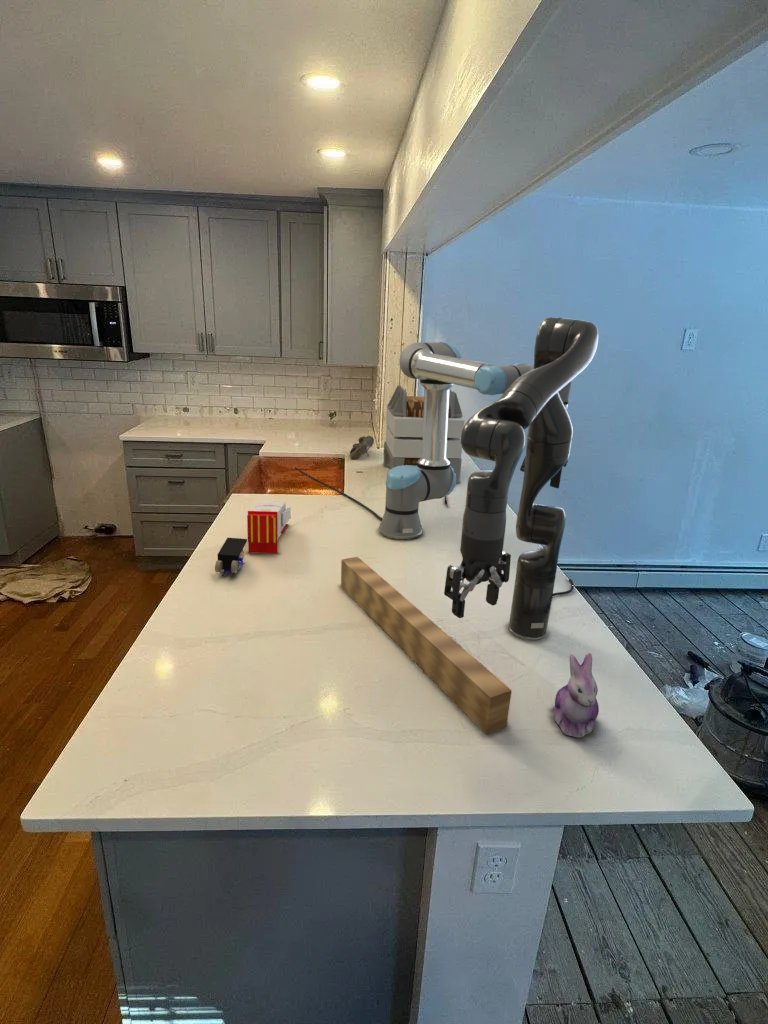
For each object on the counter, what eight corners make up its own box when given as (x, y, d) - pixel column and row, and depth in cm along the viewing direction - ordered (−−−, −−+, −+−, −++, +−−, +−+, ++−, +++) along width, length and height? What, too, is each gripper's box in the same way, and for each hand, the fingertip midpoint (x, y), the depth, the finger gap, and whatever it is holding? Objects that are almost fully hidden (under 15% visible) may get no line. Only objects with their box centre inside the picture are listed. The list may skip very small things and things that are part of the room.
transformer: (382, 463, 289) (386, 382, 275) (445, 464, 293) (451, 384, 279) (390, 482, 257) (394, 392, 243) (460, 483, 261) (468, 394, 247)
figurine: (577, 747, 104) (590, 678, 99) (539, 713, 113) (549, 648, 108) (613, 732, 109) (628, 665, 104) (573, 700, 117) (585, 637, 112)
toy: (293, 496, 204) (280, 513, 174) (293, 532, 206) (280, 555, 177) (259, 495, 203) (240, 512, 174) (259, 531, 206) (241, 554, 177)
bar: (340, 586, 161) (341, 559, 158) (356, 583, 163) (357, 556, 160) (486, 734, 107) (490, 697, 104) (506, 726, 109) (511, 690, 106)
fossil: (349, 442, 312) (371, 426, 307) (360, 455, 315) (381, 440, 310) (343, 455, 293) (366, 439, 288) (355, 470, 296) (377, 454, 291)
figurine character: (238, 584, 162) (249, 557, 175) (236, 562, 158) (247, 536, 172) (215, 584, 161) (227, 556, 175) (212, 561, 158) (225, 535, 171)
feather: (444, 489, 255) (446, 486, 254) (447, 508, 228) (450, 504, 228) (441, 487, 255) (443, 484, 254) (443, 506, 228) (446, 502, 228)
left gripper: (536, 425, 147) (526, 502, 154) (587, 416, 163) (575, 487, 170) (513, 420, 152) (504, 494, 160) (564, 412, 168) (554, 480, 175)
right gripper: (468, 546, 94) (460, 630, 100) (526, 529, 102) (516, 607, 107) (439, 531, 99) (433, 611, 105) (496, 515, 107) (487, 591, 113)
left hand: (541, 491), depth 165 cm, fingers open, 13 cm apart
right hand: (474, 609), depth 106 cm, fingers open, 8 cm apart
